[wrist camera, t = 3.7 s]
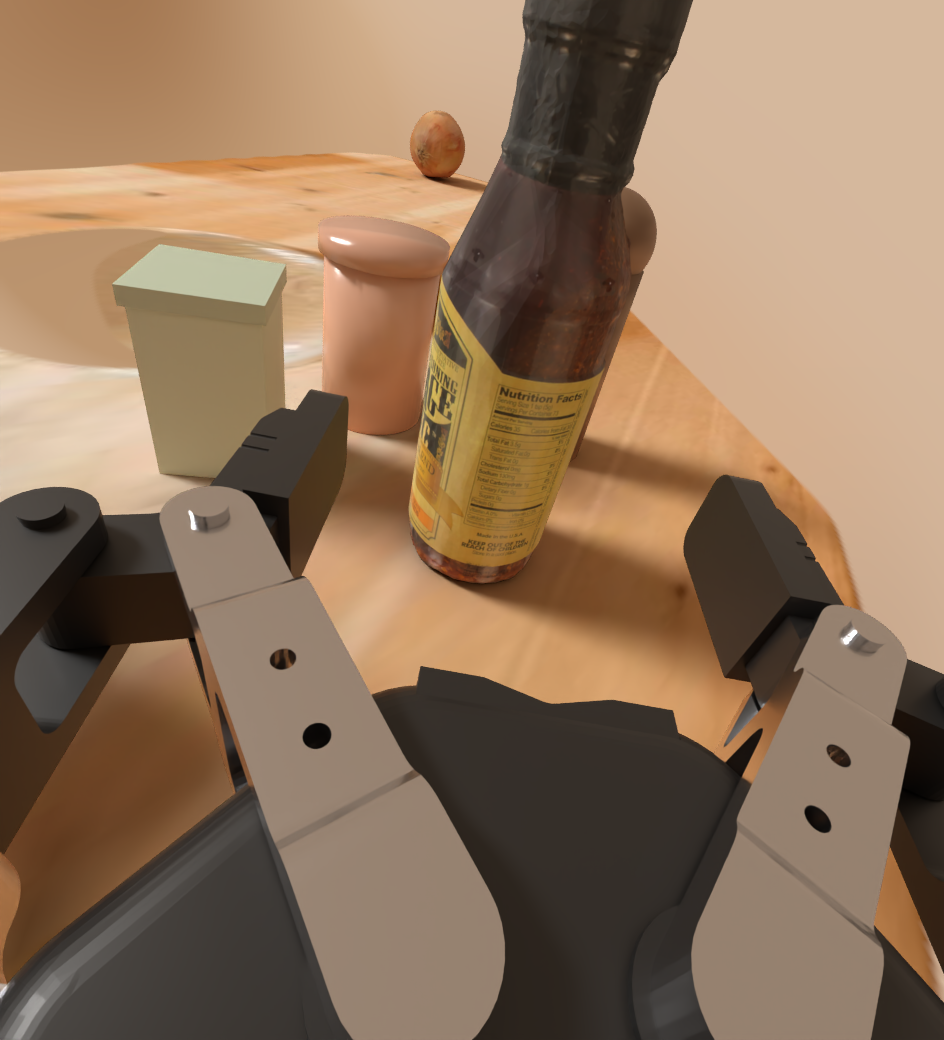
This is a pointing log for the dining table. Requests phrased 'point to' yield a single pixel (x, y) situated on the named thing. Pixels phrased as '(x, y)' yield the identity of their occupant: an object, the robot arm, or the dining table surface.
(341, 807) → the robot arm
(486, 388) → the sauce bottle
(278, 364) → the sage tin
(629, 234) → the walnut pepper mill
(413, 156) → the onion
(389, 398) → the terracotta jar
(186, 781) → the dining table surface
